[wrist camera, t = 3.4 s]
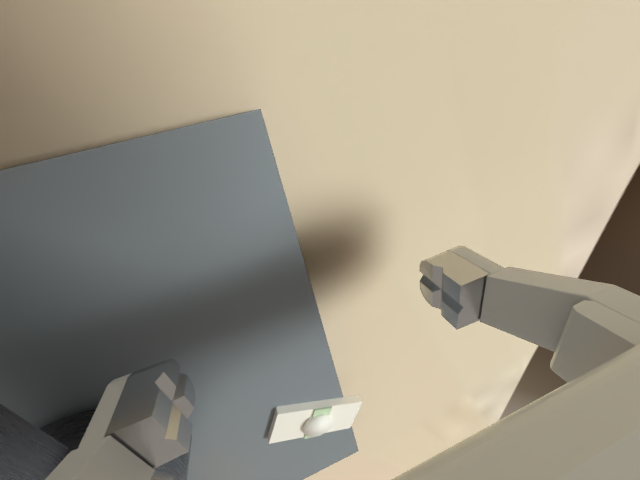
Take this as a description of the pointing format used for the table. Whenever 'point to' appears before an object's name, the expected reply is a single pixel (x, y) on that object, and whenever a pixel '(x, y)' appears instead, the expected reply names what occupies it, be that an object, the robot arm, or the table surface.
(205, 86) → the table surface
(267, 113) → the table surface
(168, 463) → the bar with grey ball
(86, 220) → the stand
